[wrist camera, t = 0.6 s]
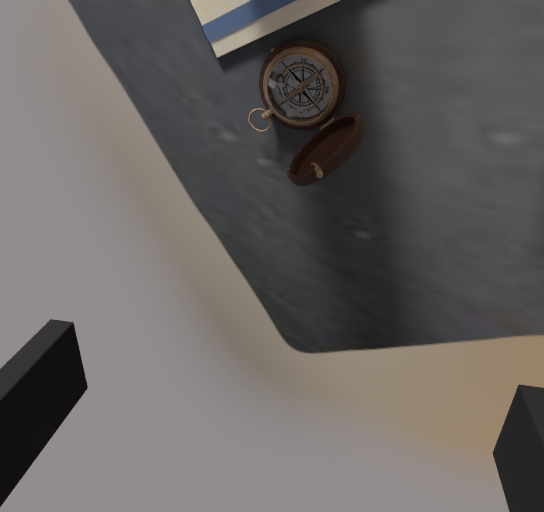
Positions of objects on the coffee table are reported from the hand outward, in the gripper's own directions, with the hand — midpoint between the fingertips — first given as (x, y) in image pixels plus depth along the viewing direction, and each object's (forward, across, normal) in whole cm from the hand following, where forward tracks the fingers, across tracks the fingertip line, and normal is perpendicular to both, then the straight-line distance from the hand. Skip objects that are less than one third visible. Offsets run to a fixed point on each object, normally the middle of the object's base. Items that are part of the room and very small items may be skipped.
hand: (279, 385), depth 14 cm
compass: (+25, -3, +4) cm, 25 cm away
